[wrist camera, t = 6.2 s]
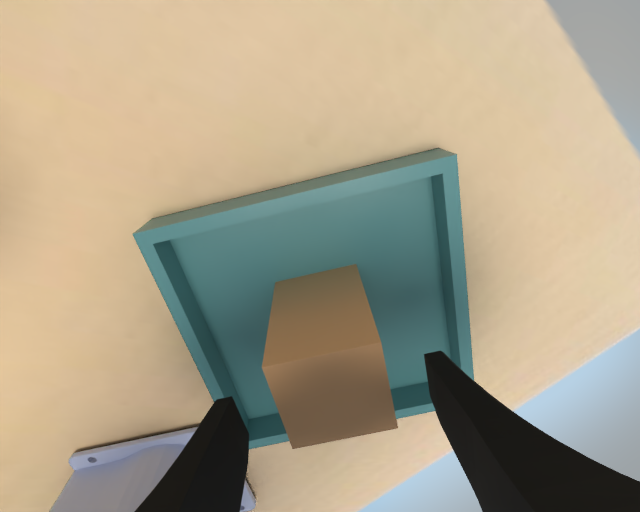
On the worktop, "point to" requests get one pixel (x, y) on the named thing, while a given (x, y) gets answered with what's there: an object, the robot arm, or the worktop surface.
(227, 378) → the teal tray
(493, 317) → the worktop surface
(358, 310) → the tan rectangular block
